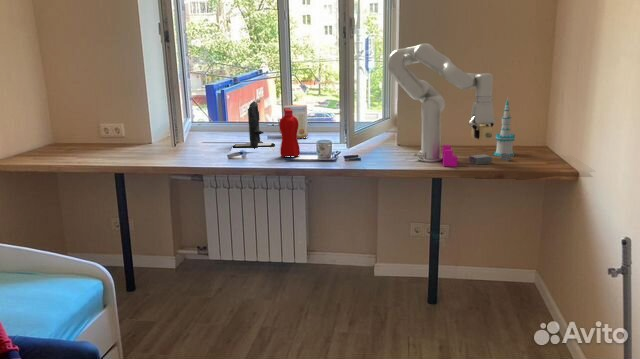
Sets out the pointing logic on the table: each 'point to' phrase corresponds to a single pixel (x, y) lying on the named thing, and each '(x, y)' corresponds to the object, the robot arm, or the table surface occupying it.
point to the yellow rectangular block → (483, 132)
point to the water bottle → (289, 134)
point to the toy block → (449, 156)
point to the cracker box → (299, 118)
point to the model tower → (505, 135)
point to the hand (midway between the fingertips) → (481, 137)
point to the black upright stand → (254, 129)
